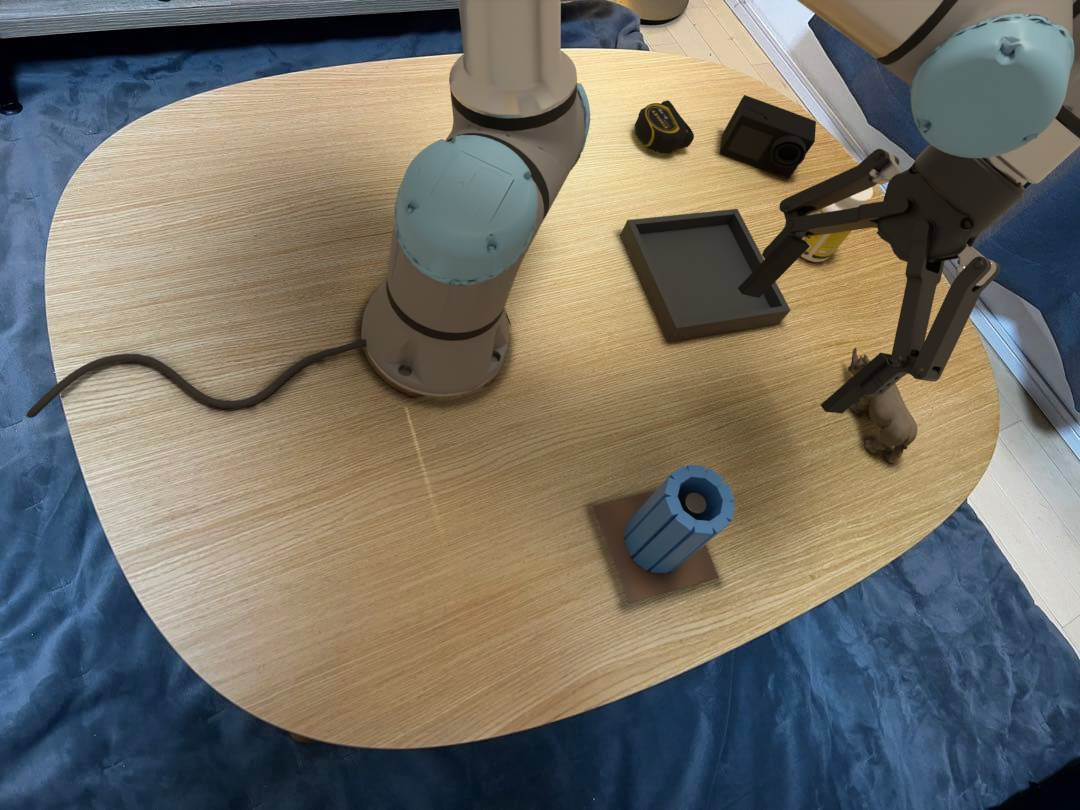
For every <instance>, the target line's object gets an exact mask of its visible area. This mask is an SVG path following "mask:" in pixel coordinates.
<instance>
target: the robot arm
mask: <svg viewBox="0 0 1080 810" xmlns="http://www.w3.org/2000/svg"><path fill="white" fill-rule="evenodd" d="M457 2H458V12H459V21H460V31H461V33H460V34H461V42H462V50H463V54H462V55H460V56H459V57H458V58H457V60H456V61H454V63H453V64H452V66H451V68H450V72H449V77H448V85H449V91H450V102H451V110H452V129H451V131H450V132H449V135H448V136H447V137H446V138H445V139H439V140H437V141H434V142H433V143H430V144H429V145H427V146H426V147H424V148H423V149H422V150H421V151H420V152H418V153H417V154H416V155H415V157H413V158H412V160H411V161H410V163H409V164H408V166H407V168H406V170H405V172H404V174H403V177H402V179H401V182H400V184H399V187H398V189H397V192H396V200H395V203H394V205H393V209H394V212H393V218H394V221H393V227H392V236H391V242H390V250H389V256H388V257H389V259H388V267H387V274H386V277H385V278H384V280H383V282H381V284H380V285H379V286H378V288H376V289H375V290H374V292H373V293H372V295H371V296H370V298H369V300H368V302H367V304H366V305H365V309H364V310H363V311H364V312H363V315H362V321H361V329H360V331H361V332H360V339H359V340H356V341H351V342H350V343H349V342H348V343H345V344H342V345H339V346H337V347H332V348H327V349H323V350H320V351H318V352H315V353H312V354H310V355H308V356H306V357H304V358H302V359H300V360H299V361H296V363H294V364H293V365H291V366H290V367H289V368H288V369H286V371H284V372H283V373H282V374H281V375H280V376H278V378H276V379H275V380H274V381H273V382H271V384H269V385H268V386H267V387H265V388H264V389H263V390H262V391H260V392H258V393H256V394H255V395H252V396H250V397H246V398H243V399H236V400H222V399H218V398H215V397H211V396H210V395H207V394H205V393H203V392H202V391H200V390H199V389H197V388H196V387H195V386H193V385H192V384H191V383H189V382H188V381H187V380H186V379H185V378H183V377H182V376H181V375H180V374H179V373H178V372H177V371H175V370H174V369H173V368H171V367H170V366H168V365H167V364H166V363H164V362H162V361H161V360H158V359H156V358H154V357H151V356H149V355H144V354H141V353H140V354H139V353H120V354H113V355H109V356H104V357H100V358H97V359H95V360H93V361H90V362H88V363H86V364H84V365H81V366H80V367H78V368H76V369H75V370H74V371H72V372H71V373H69V374H68V375H66V376H65V377H64V378H63V379H62V380H59V382H58V383H56V384H55V385H54V386H53V387H52V388H51V389H50V390H49V391H47V392H46V393H45V394H44V395H43V396H42V397H41V398H40V399H39V400H38V401H37V402H35V404H34V405H32V406H31V408H30V409H29V410H28V411H27V412H26V414H25V416H26V417H27V419H32V418H35V417H36V416H38V415H39V413H40V412H41V411H42V410H44V409H45V408H46V407H47V406H48V405H49V404H50V403H51V402H52V401H53V400H54V399H55V398H56V397H57V396H58V395H60V394H61V392H63V391H64V390H65V389H66V388H67V387H69V386H70V385H71V384H72V383H74V382H75V381H77V380H78V379H80V378H81V377H83V376H84V375H86V374H88V373H90V372H92V371H94V370H95V369H98V368H101V367H104V366H107V365H111V364H115V363H123V362H137V363H142V364H146V365H149V366H152V367H154V368H155V369H157V370H159V371H160V372H162V373H163V374H165V375H166V376H167V377H169V378H170V379H171V380H172V381H174V382H175V384H177V385H178V386H179V387H181V389H183V390H184V391H185V392H186V393H188V394H189V395H191V397H194V398H195V399H197V400H198V401H200V402H203V403H204V404H206V405H209V406H213V407H216V408H220V409H239V408H245V407H248V406H252V405H255V404H257V403H259V402H261V401H263V400H265V399H266V398H268V397H269V396H271V395H272V394H273V393H274V392H276V390H278V389H279V388H280V387H282V386H283V384H285V383H286V382H287V381H288V380H289V379H290V378H291V377H292V376H294V375H295V374H296V373H298V372H299V371H301V370H302V369H303V368H305V367H306V366H308V365H311V364H312V363H314V362H317V361H319V360H322V359H326V358H329V357H333V356H337V355H341V354H344V353H347V352H350V351H354V350H358V349H360V348H362V350H363V353H364V356H365V357H366V359H367V360H366V361H367V362H368V363H369V366H370V367H371V368H372V369H373V371H374V372H375V373H376V374H377V375H378V376H379V378H381V379H382V380H383V381H384V383H386V384H387V385H389V386H390V387H392V388H393V389H396V391H398V392H400V393H402V394H404V395H407V396H410V397H412V398H416V399H419V398H423V397H425V398H426V397H427V398H432V399H450V398H456V397H462V396H465V395H469V394H471V393H474V392H476V391H478V390H480V389H481V388H484V387H487V386H489V385H490V384H491V383H492V382H493V381H494V379H496V377H497V376H498V375H499V373H500V371H501V369H502V367H503V364H504V362H505V360H506V357H507V354H508V351H509V345H510V344H509V343H510V329H509V327H510V328H512V324H511V320H510V318H509V315H508V313H507V311H506V305H507V302H508V299H509V296H510V294H511V290H512V287H513V285H514V282H515V279H516V276H517V274H518V272H519V270H520V267H521V265H522V263H523V260H524V259H525V256H526V254H527V253H528V251H529V248H530V247H531V246H532V243H533V241H534V240H535V238H536V235H537V234H538V232H539V230H540V228H541V226H542V224H543V222H544V220H545V219H546V217H547V215H548V214H549V211H550V210H551V208H552V206H553V204H554V202H555V201H556V199H557V197H558V195H559V193H560V191H561V189H562V187H563V186H564V184H565V182H566V180H567V179H568V177H569V174H570V173H571V171H573V169H574V167H576V165H577V163H578V162H579V160H580V158H581V155H582V153H583V152H584V149H585V147H586V142H587V139H588V135H589V130H590V125H591V108H590V107H591V106H590V103H589V98H588V95H587V93H586V90H585V88H584V86H583V84H582V83H579V82H578V74H577V68H576V65H575V63H574V62H573V60H572V58H570V56H569V55H568V54H566V53H565V52H564V51H563V50H561V47H562V45H561V43H562V41H561V36H562V35H561V31H562V29H561V28H562V27H561V26H562V25H561V24H562V22H561V21H562V19H561V18H562V17H561V16H562V15H561V14H562V8H561V7H562V0H457ZM796 2H798V3H800V4H801V5H802V6H804V7H805V8H806V9H808V10H809V11H810V12H812V14H815V15H816V16H817V17H819V18H820V19H821V20H822V21H824V22H825V23H827V24H828V25H829V26H831V27H833V29H835V30H836V31H838V32H839V33H840V34H842V35H843V36H844V37H846V38H847V39H848V40H850V41H851V42H853V43H854V44H855V45H856V46H858V47H859V48H861V49H862V50H863V51H865V52H866V53H868V54H869V55H870V56H871V57H873V59H875V60H876V61H877V62H879V63H880V64H881V65H883V66H884V67H885V68H886V69H887V70H888V71H889V72H891V73H892V74H893V75H895V76H896V77H897V78H898V79H900V80H901V81H902V82H904V83H905V84H907V85H908V86H909V91H908V92H909V94H910V99H909V102H910V105H911V113H912V118H913V122H914V125H916V128H917V129H918V131H919V133H920V135H921V136H922V138H923V140H925V141H926V142H927V143H928V144H929V145H927V146H926V147H925V149H924V150H922V151H921V153H920V154H918V156H917V157H916V158H915V160H914V162H913V163H912V165H911V166H910V167H909V168H907V169H905V170H904V171H903V170H902V169H901V167H900V158H899V157H898V156H896V155H894V154H892V153H890V152H888V151H886V150H885V149H883V148H876V149H875V150H873V151H872V152H871V153H870V154H869V155H867V157H865V158H864V159H863V160H862V161H861V162H859V164H857V165H856V166H854V167H851V168H849V169H847V170H845V171H842V172H841V173H838V174H836V175H833V176H831V177H829V178H827V179H825V180H823V181H820V182H819V183H817V184H813V185H811V186H810V187H808V188H805V189H803V190H801V191H799V192H797V193H795V194H792V195H790V196H788V197H785V198H783V199H782V200H781V201H780V203H779V207H778V208H779V211H780V212H782V213H783V215H784V219H785V224H784V227H783V229H782V230H781V231H780V232H779V233H778V234H777V235H776V236H775V237H774V238H773V240H772V241H770V243H769V244H768V245H767V246H766V247H765V248H764V249H763V251H762V253H761V255H762V257H763V259H764V261H763V262H762V263H761V264H760V265H759V266H758V267H757V268H756V269H755V270H754V271H753V272H752V274H751V275H750V276H749V277H748V278H747V279H746V280H745V281H744V282H743V283H742V284H741V285H740V286H739V287H738V289H739V291H740V292H741V294H744V295H748V296H752V297H756V298H760V297H761V296H762V295H763V294H764V293H765V292H766V291H767V290H768V289H769V288H770V287H771V286H772V285H773V284H774V283H775V282H776V283H777V281H778V280H779V279H780V278H781V277H782V275H784V273H786V272H787V271H788V269H789V268H791V266H792V265H793V264H794V263H795V262H796V261H797V260H798V259H799V258H800V257H801V255H802V254H803V253H804V252H805V251H806V250H807V249H808V248H809V247H810V246H809V245H808V243H807V242H806V241H805V240H802V238H803V237H806V238H809V239H811V237H810V236H817V235H824V234H831V233H838V232H845V231H851V232H853V231H858V230H864V229H877V231H876V235H878V237H879V238H880V239H881V240H882V241H884V242H886V243H887V244H889V245H890V248H891V250H892V252H893V254H894V255H895V256H896V257H897V259H899V260H900V261H902V262H905V263H906V268H905V273H904V274H905V277H906V284H905V287H904V291H903V292H904V293H903V298H902V301H901V307H900V311H899V316H898V322H897V327H896V330H895V336H894V340H893V346H892V350H891V354H890V353H885V352H879V353H878V354H877V355H876V356H875V357H873V358H872V359H871V361H870V362H869V363H868V364H867V365H865V366H864V367H863V368H862V369H861V370H860V371H859V372H857V373H856V374H855V375H854V376H853V375H852V377H850V378H849V379H848V380H847V381H846V382H845V383H843V384H842V385H841V386H840V387H839V388H837V390H836V391H834V392H833V393H832V394H830V396H828V397H827V398H825V400H824V401H823V402H822V403H820V407H821V408H822V410H823V411H824V413H830V414H831V413H833V414H844V413H845V412H846V411H847V410H848V409H850V407H851V406H852V405H853V404H854V403H855V402H859V401H860V398H861V397H862V396H864V395H865V394H867V395H869V396H878V395H881V394H883V393H884V392H885V391H887V389H889V388H890V387H891V386H893V385H894V384H895V383H896V384H897V383H898V382H899V381H900V380H901V379H903V377H905V376H906V375H909V376H912V378H913V379H915V380H919V381H923V382H931V383H932V382H933V383H934V382H937V381H938V380H940V378H941V376H942V374H943V373H944V371H945V369H946V366H947V365H948V362H949V360H950V358H951V356H952V354H953V351H954V350H955V347H956V345H957V343H958V341H959V339H960V337H961V335H962V333H963V331H964V329H965V327H966V324H967V322H968V320H969V318H970V316H971V314H972V312H973V310H974V308H975V307H976V304H977V302H978V299H979V298H980V295H981V294H982V292H983V291H985V289H986V288H987V287H988V286H989V285H990V284H991V283H992V282H993V281H994V280H995V279H996V277H997V276H999V274H1000V273H1001V265H1000V264H999V263H998V262H996V261H994V260H992V259H989V258H987V257H985V256H984V255H983V254H982V253H980V252H979V251H978V250H976V248H974V247H973V246H974V244H975V242H976V241H977V239H978V237H979V236H980V235H981V234H982V233H983V232H985V231H986V230H987V229H989V228H991V227H992V226H993V225H994V224H995V223H996V222H997V221H998V220H1000V219H1001V218H1002V217H1003V216H1004V215H1006V213H1007V212H1008V211H1010V210H1011V209H1012V208H1013V207H1014V206H1015V205H1016V204H1017V203H1019V202H1020V201H1021V200H1022V199H1023V198H1024V197H1025V194H1024V193H1025V192H1026V189H1025V187H1024V186H1025V184H1027V183H1029V184H1033V185H1037V184H1039V183H1041V182H1042V181H1043V180H1044V179H1045V178H1046V177H1047V176H1048V175H1049V174H1050V173H1052V171H1054V170H1055V169H1056V168H1057V167H1058V166H1060V165H1061V164H1062V163H1063V162H1064V161H1065V159H1067V158H1068V157H1069V156H1071V154H1073V153H1074V151H1076V150H1077V149H1078V148H1079V147H1080V0H796ZM885 184H887V186H886V189H885V192H884V197H883V200H882V201H876V202H870V203H869V202H868V203H867V204H863V205H859V207H856V208H849V209H843V210H837V211H831V212H825V213H819V214H813V215H809V214H811V213H813V212H816V211H818V210H820V209H823V208H825V207H827V206H829V205H832V204H834V203H836V202H839V201H841V200H843V199H846V198H848V197H850V196H853V195H855V194H857V193H860V192H862V191H864V190H867V189H869V188H871V187H872V188H874V187H875V186H877V185H878V186H879V185H880V186H881V185H882V186H883V185H885ZM806 215H807V216H806ZM958 259H959V264H958V265H957V267H956V269H955V272H956V277H955V279H954V280H953V282H952V283H951V285H950V287H949V289H948V291H947V293H946V295H945V297H944V299H943V301H942V304H941V305H940V308H939V310H938V312H937V314H936V316H935V318H934V321H933V322H932V325H931V326H930V329H929V331H928V326H929V323H930V319H931V318H930V317H931V313H932V308H933V303H934V299H935V294H936V290H937V286H938V284H940V282H941V279H942V277H943V271H944V266H945V262H947V261H953V260H958ZM927 332H928V333H927Z"/></svg>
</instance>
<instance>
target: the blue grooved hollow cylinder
mask: <svg viewBox="0 0 1080 810" xmlns="http://www.w3.org/2000/svg"><path fill="white" fill-rule="evenodd" d="M653 492H654V493H653V494H652V495H651V497H650V498H649V499H648V500H647V501H646V502H645V503H644V504H643V505H642V507H641V508H640V509H639V510H638V511H637V512H636V513H635V514H634V515H633V516H632V518H631V519H630V521H629V522H628V524H627V527H626V531H625V535H624V537H625V538H626V539H625V541H624V542H625V545H626V547H627V550H628V552H629V555H630V557H632V556H635V557H634V559H633V561H634V562H636V563H637V564H638V565H639V566H641V567H642V568H643V569H645V570H646V571H647V570H648V569H649V568H650V572H651V573H665V574H666V573H668V572H672V571H673V570H675V569H676V568H677V567H679V566H680V565H681V564H683V563H684V562H685V561H686V560H688V559H689V558H690V557H691V556H692V555H694V554H695V553H696V552H697V551H698V550H699V549H701V548H702V547H703V546H704V545H705V546H706V545H707V544H708V543H710V541H712V540H713V539H714V538H715V537H716V536H718V535H719V534H720V533H721V532H722V531H724V530H725V529H726V528H727V527H728V526H730V525H731V522H732V521H733V519H734V513H735V509H736V503H735V502H734V501H735V500H736V498H735V496H734V494H733V492H732V489H731V487H730V484H729V483H728V482H725V478H724V477H723V476H721V475H720V474H718V473H717V472H716V471H715V470H714V469H712V468H711V467H709V468H707V469H706V466H704V465H698V464H697V465H696V464H687V465H682V466H680V467H679V468H677V469H676V470H674V471H673V472H672V473H670V474H669V476H667V478H666V479H665V480H664V481H663V482H662V483H661V484H660V485H659V486H658V487H657V489H656V490H655V491H653ZM690 493H698V494H700V495H702V496H703V497H704V499H705V501H706V509H705V511H704V512H703V513H702V514H701V515H699V516H698V517H697V518H696V519H694V518H693V517H691V516H690V515H689V514H688V513H686V512H685V511H684V510H683V508H682V506H681V504H680V502H681V501H682V500H683V499H684V498H685V497H686V496H687V495H688V494H690Z"/></svg>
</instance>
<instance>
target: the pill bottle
mask: <svg viewBox="0 0 1080 810" xmlns="http://www.w3.org/2000/svg"><path fill="white" fill-rule="evenodd" d="M873 188H874V187H871V188H869V189H867V190H864V191H862V192H860V193H857V194H855V195H853V196H850V197H848V198H846V199H843V200H841V201H839V202H836V203H834V204H832V205H829V206H827V207H825V208H823V209H820V210H818V211H816V212H813V213H811V214H809V215H813V214H819V213H825V212H831V211H837V210H843V209H849V208H856V207H859V205H863V204H869V201H870V200H871V199H872V198H873V195H874V189H873ZM806 216H807V215H806ZM851 233H852V231H845V232H838V233H831V234H824V235H817V236H810V237H811V239H809V238H806V237H803V238H802V240H805V241H806V242H807V243H808V245H809V246H810V247H809V248H808V249H807V250H806V251H805V252H804V253H803V254H802V255H801V256H800V257H801V258H802V259H804V260H807V261H810V262H812V263H813V262H814V263H821V262H825V261H827V260H828V259H829V258H830V257H831V256H832V255H833V254H834V253H835V252H836V251H837V249H838V248H840V246H841V245H842V243H843V242H844V241H845V240H846V239H847V238H848V236H849V235H850V234H851Z"/></svg>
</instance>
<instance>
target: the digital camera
mask: <svg viewBox="0 0 1080 810" xmlns="http://www.w3.org/2000/svg"><path fill="white" fill-rule="evenodd" d="M816 127H817V121H816V120H814V119H812V118H809V117H806V116H803V115H801V114H798V113H795V112H793V111H790V110H788V109H784V108H782V107H779V106H777V105H773V104H771V103H768V102H766V101H763V100H760V99H757V98H754V97H752V96H749V95H746V94H743V96H742V98H741V99H740V101H739V103H738V104H737V107H736V109H735V110H734V112H733V113H732V116H731V117H730V119H729V121H728V123H727V125H726V126H725V127H724V130H723V131H722V134H721V141H720V148H719V154H720V155H722V156H725V157H727V158H730V159H733V160H736V161H739V162H741V163H745V164H747V165H750V166H752V167H755V168H758V169H761V170H763V171H766V172H769V173H772V174H775V175H777V176H779V177H782V178H785V179H790V178H791V176H792V175H793V174H794V173H795V171H796V170H797V168H798V166H800V165H801V164H802V163H803V162H804V160H805V158H806V155H807V154H808V152H809V151H810V150H811V148H812V146H813V145H814V144H815V142H816V131H817V130H816Z"/></svg>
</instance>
